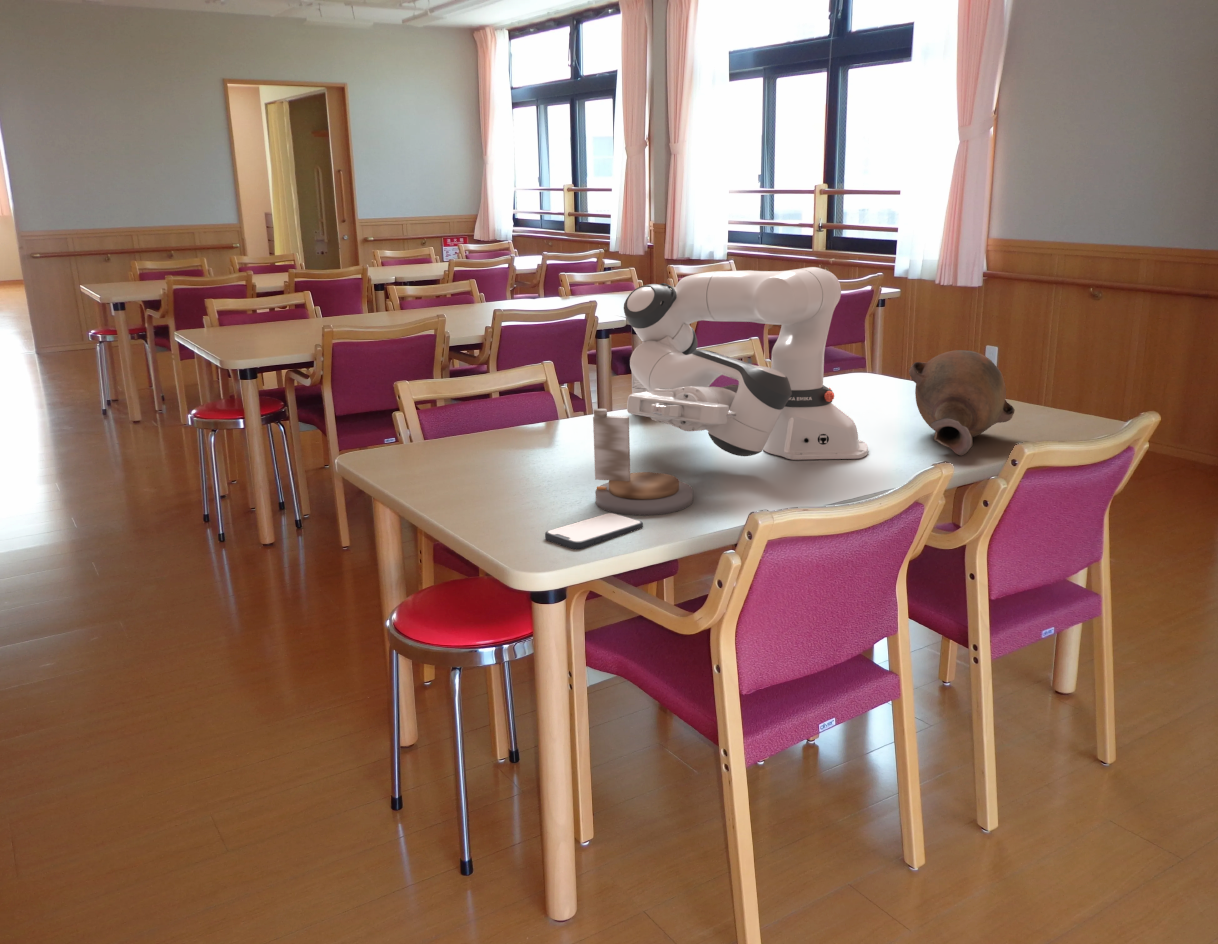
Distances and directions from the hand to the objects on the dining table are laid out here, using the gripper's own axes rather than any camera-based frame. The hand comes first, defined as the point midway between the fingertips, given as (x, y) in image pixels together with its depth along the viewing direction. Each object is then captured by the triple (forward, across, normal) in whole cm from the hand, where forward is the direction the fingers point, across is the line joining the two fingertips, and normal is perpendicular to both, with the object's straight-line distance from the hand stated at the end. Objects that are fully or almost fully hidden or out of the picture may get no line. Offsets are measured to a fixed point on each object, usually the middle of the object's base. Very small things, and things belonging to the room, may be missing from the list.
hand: (657, 410), depth 184 cm
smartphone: (+22, -3, -21) cm, 30 cm away
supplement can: (-64, +40, -7) cm, 76 cm away
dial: (+3, +1, -15) cm, 15 cm away
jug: (-67, -38, -4) cm, 77 cm away
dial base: (+3, 0, -17) cm, 17 cm away
